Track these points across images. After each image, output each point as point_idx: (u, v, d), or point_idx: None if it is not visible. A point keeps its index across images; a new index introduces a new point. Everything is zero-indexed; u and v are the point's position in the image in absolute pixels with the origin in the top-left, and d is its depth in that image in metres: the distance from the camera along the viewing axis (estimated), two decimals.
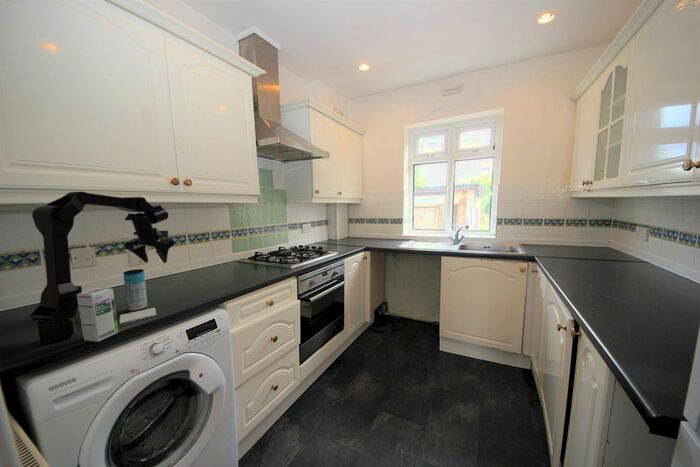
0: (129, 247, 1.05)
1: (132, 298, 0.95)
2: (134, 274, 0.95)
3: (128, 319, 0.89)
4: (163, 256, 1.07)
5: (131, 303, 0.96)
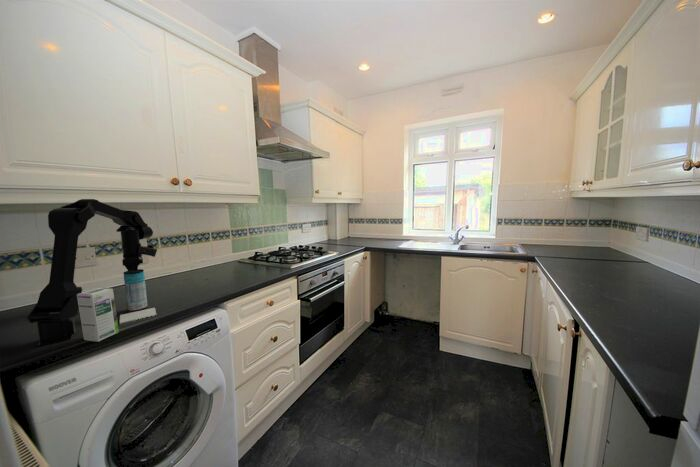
0: (123, 257, 1.12)
1: (132, 298, 0.95)
2: (134, 274, 0.95)
3: (128, 319, 0.89)
4: None
5: (131, 303, 0.96)
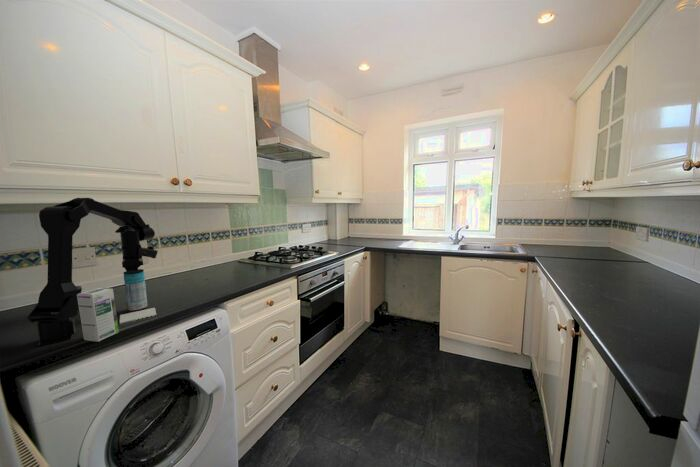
0: None
1: (132, 298, 0.95)
2: (134, 274, 0.95)
3: (128, 319, 0.89)
4: None
5: (131, 303, 0.96)
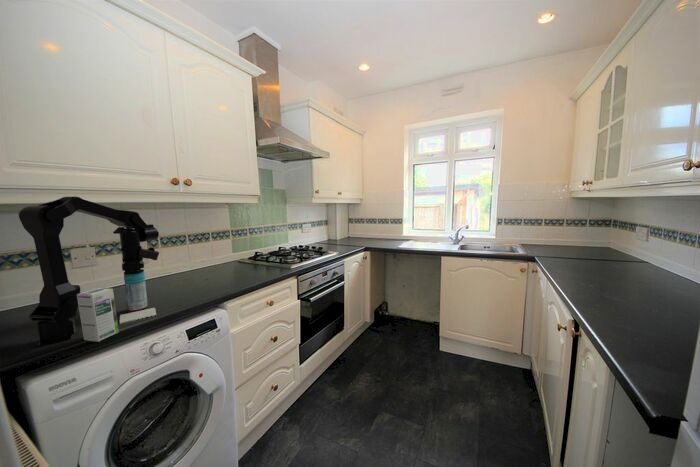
0: None
1: (132, 299, 0.95)
2: (134, 274, 0.95)
3: (128, 319, 0.89)
4: None
5: (131, 303, 0.95)
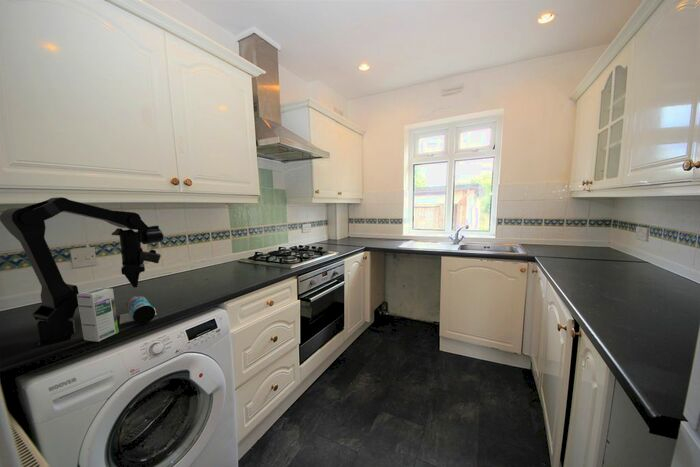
0: None
1: None
2: None
3: (128, 319, 0.89)
4: (131, 279, 0.95)
5: None
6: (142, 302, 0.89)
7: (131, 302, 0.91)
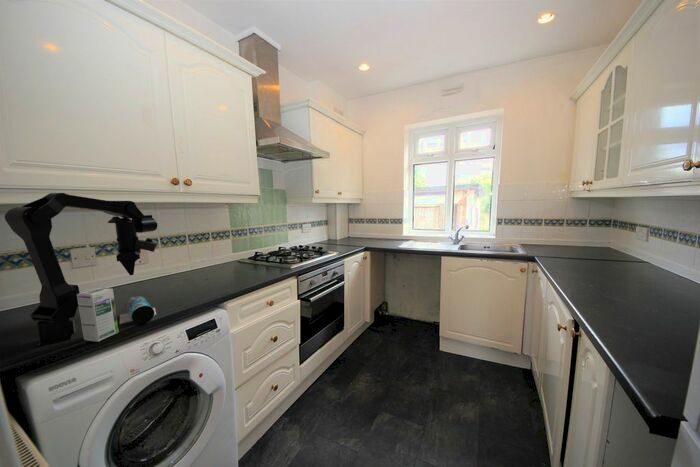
0: None
1: None
2: None
3: (128, 319, 0.89)
4: (127, 267, 0.97)
5: None
6: (140, 302, 0.89)
7: (129, 303, 0.91)
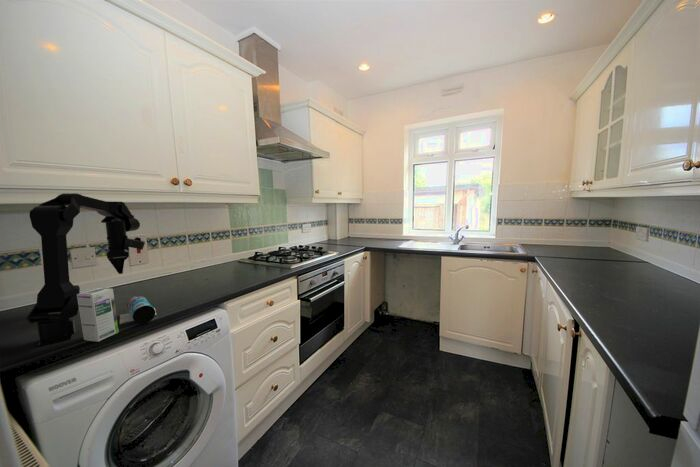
0: None
1: None
2: None
3: (128, 319, 0.89)
4: (116, 266, 0.99)
5: None
6: (142, 302, 0.89)
7: (131, 302, 0.91)
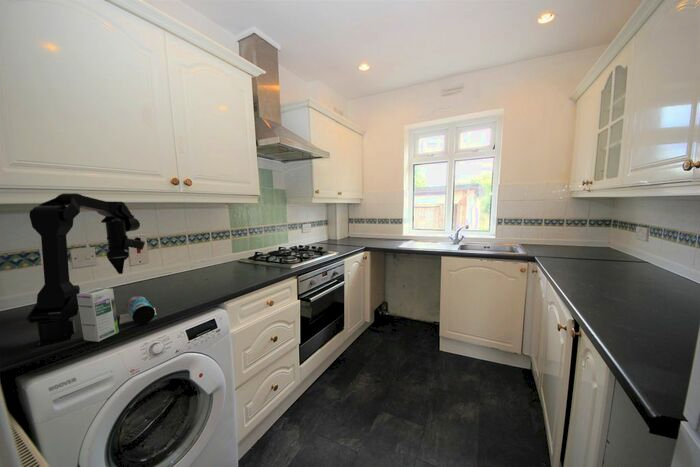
0: None
1: None
2: None
3: (128, 319, 0.89)
4: (116, 266, 0.99)
5: None
6: (141, 302, 0.89)
7: (130, 302, 0.91)
